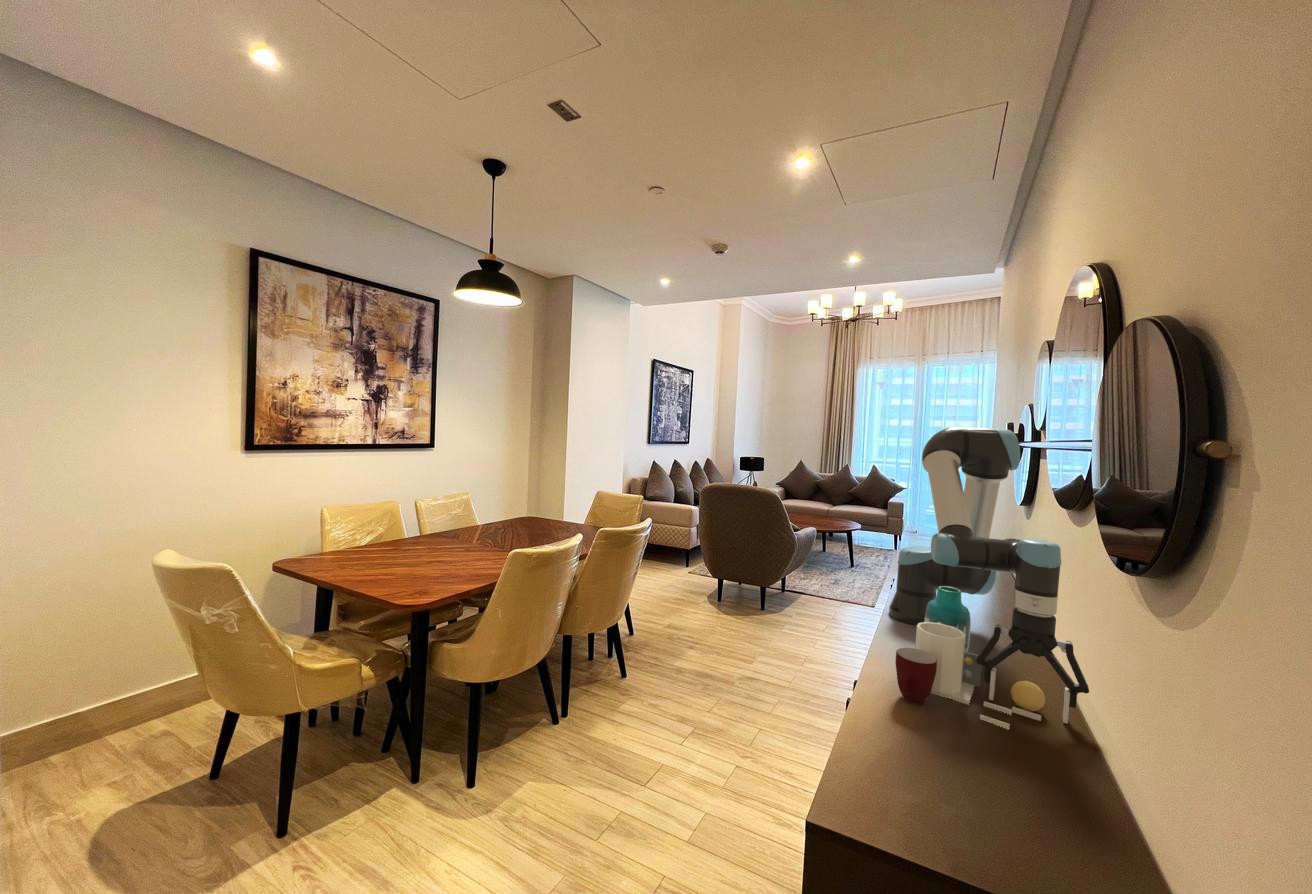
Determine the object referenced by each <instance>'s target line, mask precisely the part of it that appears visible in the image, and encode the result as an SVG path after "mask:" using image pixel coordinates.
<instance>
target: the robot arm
mask: <svg viewBox="0 0 1312 894" xmlns="http://www.w3.org/2000/svg"><path fill="white" fill-rule="evenodd" d="M921 462H922V466H923V469H924V470H925V471H926V472H927V474H928V480H929V486H930V491H931V497H932V502H933V508H934V513H935V519H936V525H937V531H938V533H934V534H933V535H932V537H931V540H930V546H927V545H912V546H910V545H909V546H906V547H903V548H902V549H899V553H898V560H897V566H898V567H897V574H896V576H897V577H896V590H895V593H894V595H893V598H892V600H891V602H890V604H889V608H888V609H889V610H888V614H889V616H890V617H892V618H894V619H895V620H897V621H900V622H903V623H906V624H908V625H909V624H910V625H914V626H917V625H918V623H922V622H924V618H925V611H926V607H927V604H928V603H929V602H930V601H931V600H934V599H936V597H937V590H938V587H940V586H947V587H953V588H956V589H959V590H960V591H961V594H962V593H963V594H968V595H981V596H982V595H987V594H989V593H990V592H991V591H992V589H994V586H995V583H996V579H997V575H996V574H997V572H1003V573H1011V574H1015V580H1014V590H1013V591H1014V592H1013V594H1014V595H1013V606H1014V607H1015V608H1013V609H1012V617H1011V618H1012V621H1011V627H1010V628H1006V627H1003V626H1001V624H998V623H997V624H996V625H995V626H994V630H993V634H992V636H990V638H989V639H988V641H987V642H986V644H985V645H984V647H983V648H982V649H981V651H980V653H978V654H977V655H978V657H977V660H976V662H977V663H978V664H981V667H983V668H984V679H983V680H984V682H985V683H986V684H989V693H988V694H989V695H988V700H989V701H993V702H994V698H995V688H996V687H995V686H996V674H997V673H996V671H997V667H996V666H997V665H999V664H1000V663H1002V662H1003V661H1004V660H1006V659H1007V658H1008V657H1010V656H1011V655H1013V654H1015V653H1017V651H1020V652H1021V653H1022V654H1026V655H1032V656H1034V657H1037V658H1041V657H1044V658H1045V659H1046V660H1047V662H1048V663H1049V664H1050V666H1051V667H1052V668H1053V669H1054V671H1055V672H1056V674H1057V675H1058V676H1059V677H1060V679H1061V681H1062V682H1063V683H1064V684H1065V687H1064V696H1063V697H1064V698H1063V712H1062V723H1064V724H1069V723H1068V722H1069V710H1070V708H1072V709H1076V708H1077V701H1078V700H1077V699H1078V694H1080V693H1082V694H1087V695H1088V694H1089V693H1090V688H1089V685H1088V683H1087V680H1086V678H1085V676H1084V674H1083V672H1082V669H1081V667H1080V664H1079V663H1078V660H1077V658H1076V656H1075V654H1074V644H1073V642H1072V641H1071V640H1066V641H1063V640H1057V638H1056V625H1057V618H1056V616H1055V615H1056V614H1057V611H1058V600H1059V599H1058V598H1059V584H1060V575H1061V574H1060V573H1061V565H1062V558H1061V557H1062V555H1061V552H1062V549H1061V547H1060V545H1059V544H1058V543H1056V542H1052V541H1048V540H1044V539H1038V538H1022V539H1017V538H1011V537H1010V538H1005V539H998V538H990V536H991V530H992V525H993V520H994V515H995V509H996V505H997V501H998V500H997V499H998V494H999V490H1000V485H1001V482H1002V481H1003V480H1006V479H1008V477H1009V471H1015V470H1017V469H1018V467H1019V465H1020V462H1021V446H1020V443H1019V439H1018V437H1017V436H1016V434H1015V432H1013V431H1012V430H1010V429H1001V428H996V427H994V428H993V427H991V428H988V427H964V426H963V427H962V426H952V427H950V426H949V427H947V428H944V429H942V430H940V431H938V432H936V433H935V434H933V435H932V437H930V439H928V441H927V442H926V444H925V445H924V447H923V451H922V455H921ZM960 467H961V472H962V473H963V475H965V481H964V488H963V483H962V479H961V474H960V470H959V469H960ZM1006 635H1008V637H1010V640H1012V642H1011V643H1010V644H1008V645H1007V646H1006V647H1004V648H1003V649H1002V650H1000V651H998V653H996V655H994V656H992V657H991V658H989V659H987V657H988V655H989V654H990V653H991V651H992V650H993V649H994V647H995V646H996V645H997V643H998V641H999V640H1000V638H1004V637H1005V636H1006ZM1056 648H1060V650H1061V652H1063V653H1065V654H1066V655H1065V656H1066V659H1067V661H1068V663H1069V666H1070V667H1071V670H1072V672H1073V675H1074V676H1075V679H1076V681H1077V683H1075V682H1074V680H1073V679H1072V677H1071V676H1070V675H1069V673H1068V672H1067V671H1066V670H1065V668H1064V667H1063V665H1062V664H1061V663H1060V662H1059V660H1058V659H1057V657H1056V656H1055V654H1054V653H1053V650H1054V649H1056Z"/></svg>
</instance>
